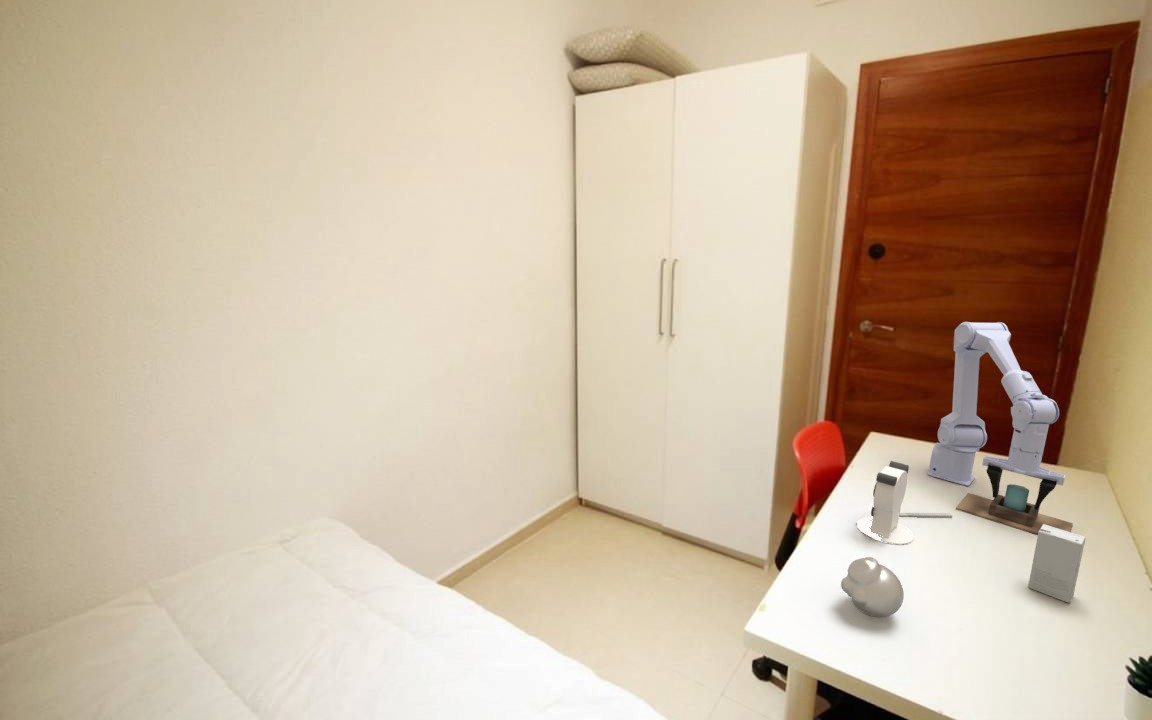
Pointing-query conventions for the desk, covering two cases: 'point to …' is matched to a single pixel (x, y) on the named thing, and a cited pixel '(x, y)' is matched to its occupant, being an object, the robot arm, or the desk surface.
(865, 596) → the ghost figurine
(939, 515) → the light grey rod
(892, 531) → the white tall piece
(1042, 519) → the peg stand
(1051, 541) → the skincare box
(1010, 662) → the desk surface
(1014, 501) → the teal peg
